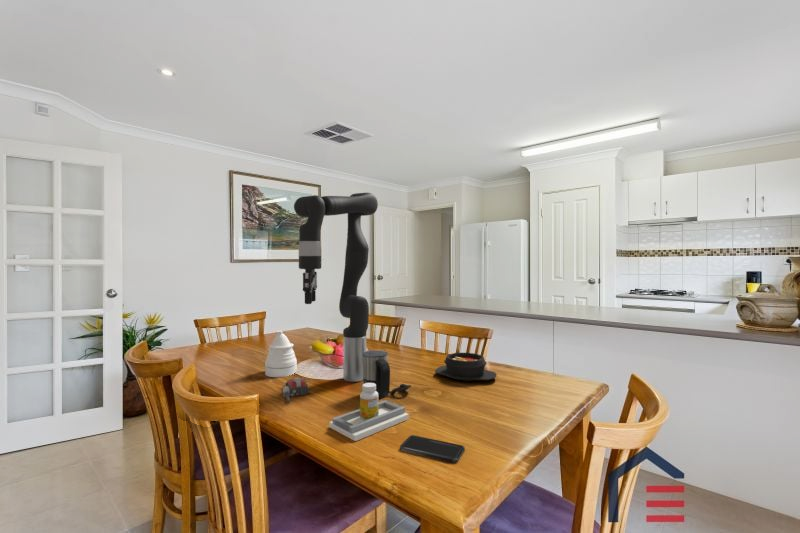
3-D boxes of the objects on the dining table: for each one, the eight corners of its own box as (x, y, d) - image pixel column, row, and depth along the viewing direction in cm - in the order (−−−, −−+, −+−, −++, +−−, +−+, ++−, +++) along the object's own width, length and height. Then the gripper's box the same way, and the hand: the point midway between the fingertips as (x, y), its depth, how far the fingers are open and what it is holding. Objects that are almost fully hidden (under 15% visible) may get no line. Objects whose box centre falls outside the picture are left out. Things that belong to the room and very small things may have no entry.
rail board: (382, 408, 123) (382, 398, 123) (408, 419, 114) (408, 409, 114) (329, 427, 109) (329, 416, 109) (355, 441, 100) (355, 429, 100)
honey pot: (291, 377, 156) (291, 333, 156) (260, 377, 156) (260, 333, 156) (300, 368, 169) (300, 327, 169) (271, 368, 169) (271, 327, 169)
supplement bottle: (357, 416, 113) (357, 383, 113) (374, 413, 115) (374, 380, 115) (363, 423, 108) (363, 388, 108) (381, 420, 110) (381, 386, 110)
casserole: (501, 375, 158) (501, 354, 158) (490, 388, 142) (490, 365, 141) (444, 367, 170) (444, 348, 169) (427, 379, 153) (427, 358, 153)
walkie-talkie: (280, 387, 145) (285, 406, 126) (280, 375, 145) (285, 392, 126) (304, 384, 148) (312, 402, 129) (304, 373, 148) (312, 389, 129)
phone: (456, 460, 89) (398, 447, 95) (456, 465, 89) (398, 451, 95) (466, 446, 96) (411, 434, 102) (466, 450, 96) (411, 438, 102)
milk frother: (356, 394, 135) (356, 353, 135) (388, 384, 147) (388, 345, 147) (384, 405, 126) (384, 360, 125) (416, 393, 137) (416, 351, 137)
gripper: (318, 254, 123) (318, 304, 124) (323, 255, 138) (324, 300, 138) (294, 254, 123) (295, 305, 123) (302, 255, 137) (302, 300, 137)
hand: (310, 302), depth 130 cm, fingers open, 8 cm apart
